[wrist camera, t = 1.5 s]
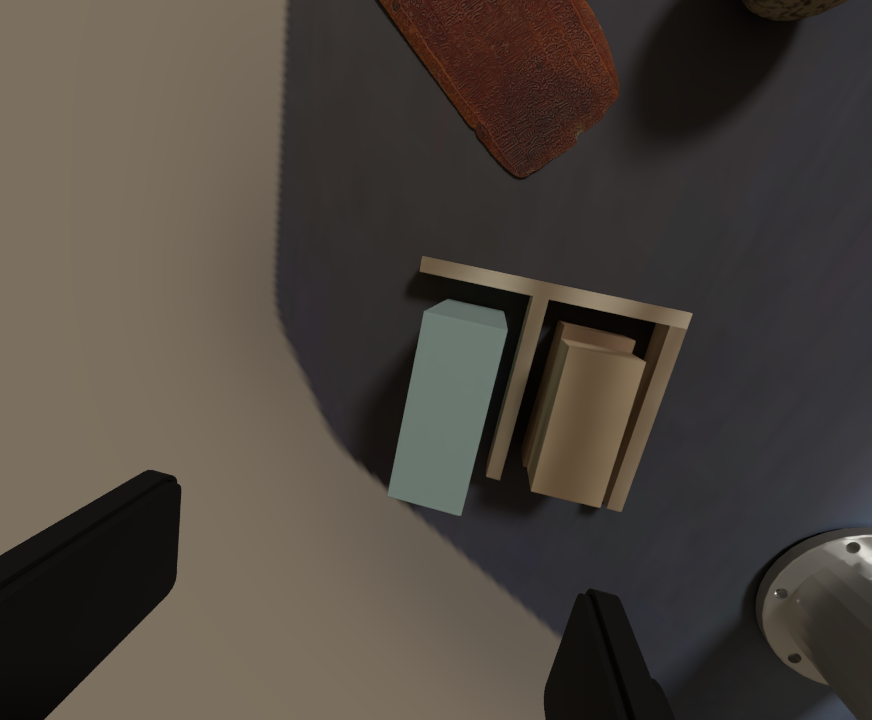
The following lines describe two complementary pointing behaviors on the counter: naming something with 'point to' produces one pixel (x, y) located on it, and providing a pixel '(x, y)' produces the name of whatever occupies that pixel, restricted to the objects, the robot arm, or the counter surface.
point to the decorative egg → (789, 8)
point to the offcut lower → (564, 332)
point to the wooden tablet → (515, 70)
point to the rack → (650, 388)
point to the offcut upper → (583, 421)
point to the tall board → (447, 404)
